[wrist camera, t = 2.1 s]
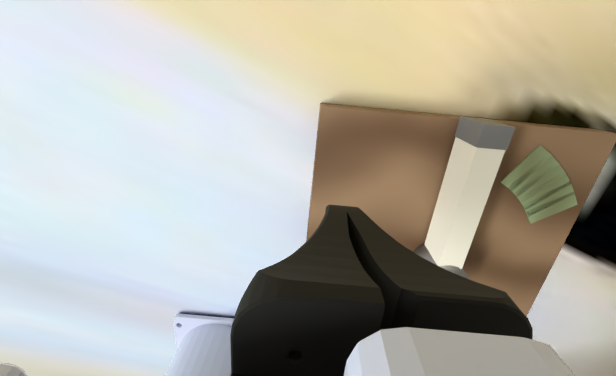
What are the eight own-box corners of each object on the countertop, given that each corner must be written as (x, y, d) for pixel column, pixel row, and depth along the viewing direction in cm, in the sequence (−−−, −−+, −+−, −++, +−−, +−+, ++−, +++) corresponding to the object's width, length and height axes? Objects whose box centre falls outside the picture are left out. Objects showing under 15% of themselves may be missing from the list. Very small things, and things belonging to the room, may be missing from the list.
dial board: (493, 346, 26) (503, 363, 25) (297, 329, 26) (296, 345, 25) (597, 129, 19) (621, 134, 17) (320, 102, 18) (320, 106, 17)
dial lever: (444, 278, 22) (460, 304, 19) (404, 274, 22) (416, 300, 19) (499, 119, 17) (529, 128, 15) (448, 114, 17) (470, 122, 15)
